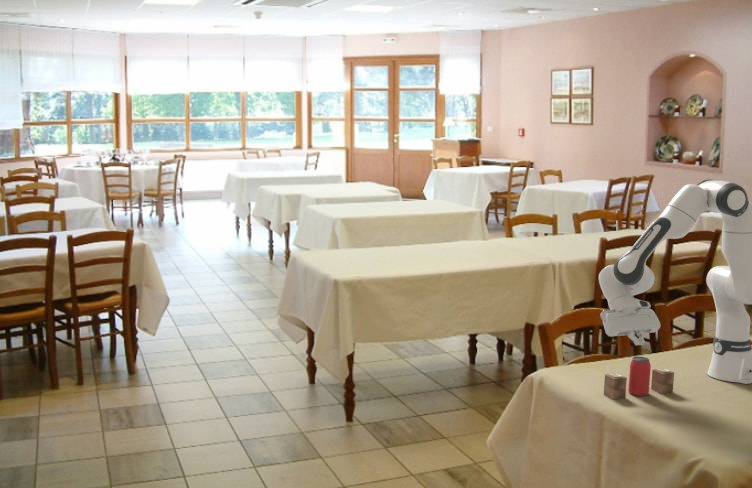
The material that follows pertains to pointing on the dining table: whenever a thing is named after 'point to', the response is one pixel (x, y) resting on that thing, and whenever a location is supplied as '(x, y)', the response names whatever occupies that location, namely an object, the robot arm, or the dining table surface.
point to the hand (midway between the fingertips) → (640, 344)
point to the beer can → (639, 376)
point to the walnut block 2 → (662, 380)
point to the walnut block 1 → (615, 386)
